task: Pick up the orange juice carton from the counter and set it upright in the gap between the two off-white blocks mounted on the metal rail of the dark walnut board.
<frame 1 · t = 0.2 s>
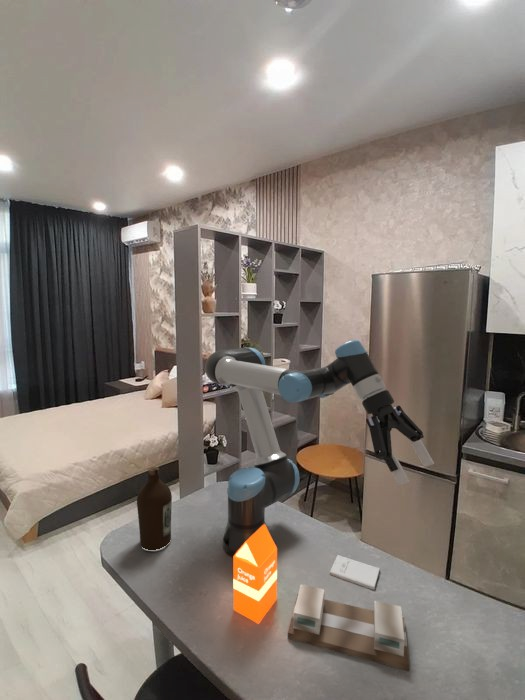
hand: (417, 474, 88), 36 cm above the table, tool tilted 35°, fingers open, 13 cm apart
olive oil: (156, 543, 117), on the table
rail board: (347, 630, 85), on the table
external hard drive: (354, 575, 104), on the table
orange juice: (255, 605, 93), on the table
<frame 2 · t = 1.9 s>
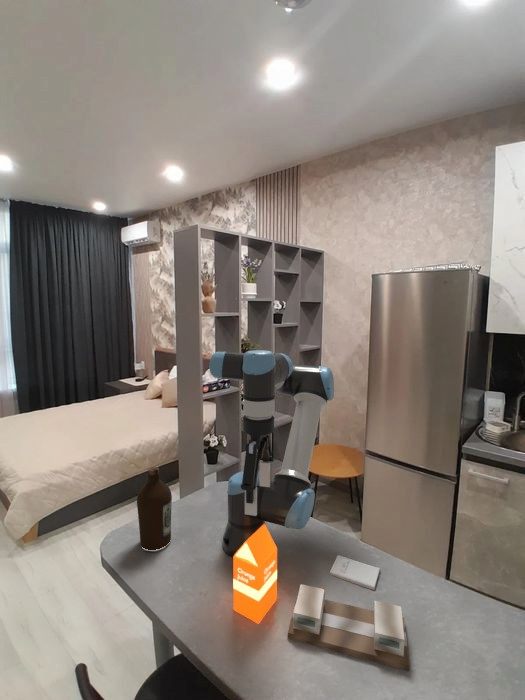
hand: (258, 499, 89), 29 cm above the table, tool pointing down, fingers open, 13 cm apart
nothing on the table moved.
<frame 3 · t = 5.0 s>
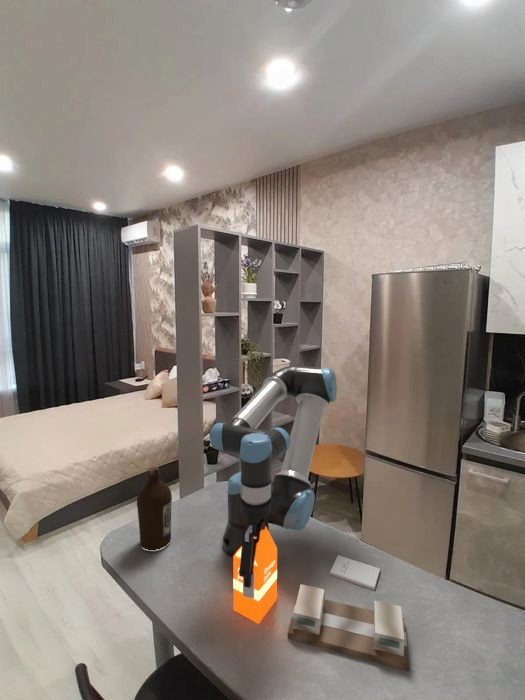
hand: (255, 580, 92), 7 cm above the table, tool pointing down, fingers closed on orange juice, 10 cm apart
orange juice: (255, 605, 93), on the table, touching gripper
everything else where it was.
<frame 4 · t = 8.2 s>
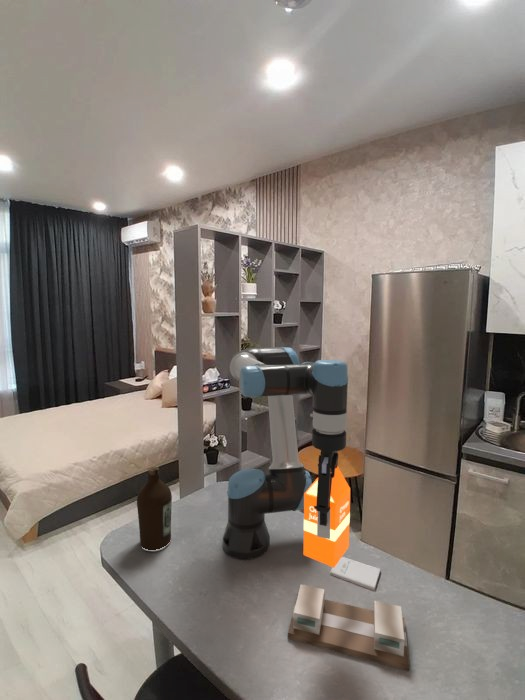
hand: (327, 523, 83), 26 cm above the table, tool pointing down, fingers closed on orange juice, 10 cm apart
orange juice: (326, 551, 84), point 19 cm above the table, touching gripper
everything else where it was.
when the fingers open (10 cm above the table, at t = 11.8 s): orange juice drops 1 cm, resting on rail board.
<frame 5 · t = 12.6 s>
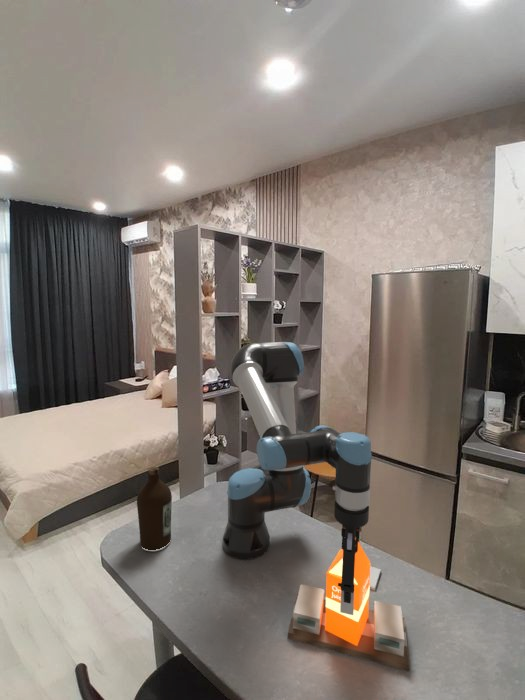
hand: (348, 589, 84), 11 cm above the table, tool pointing down, fingers open, 13 cm apart
orange juice: (346, 624, 85), point 1 cm above the table, touching rail board
everything else where it was.
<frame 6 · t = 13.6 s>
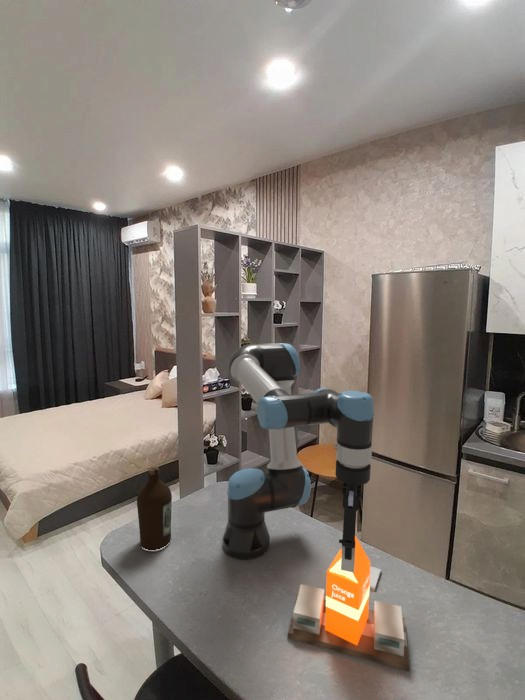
hand: (349, 549, 83), 20 cm above the table, tool pointing down, fingers open, 13 cm apart
nothing on the table moved.
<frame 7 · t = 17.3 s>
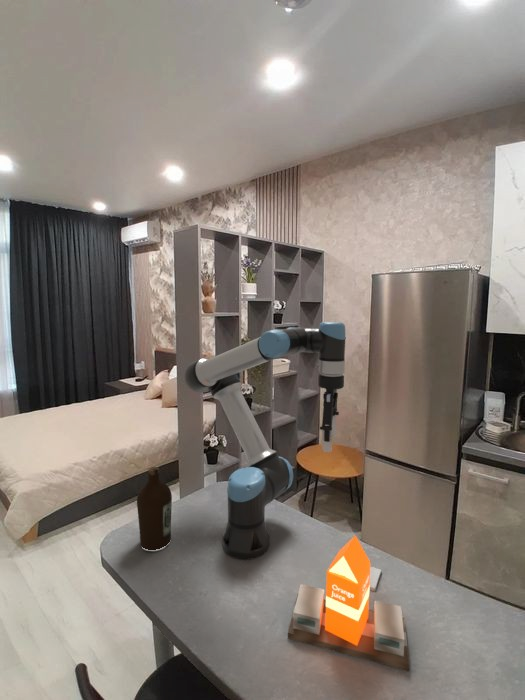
hand: (329, 443, 110), 35 cm above the table, tool pointing down, fingers open, 13 cm apart
nothing on the table moved.
at the end: orange juice 0.3 cm off-centre on the rail board, point 1.4 cm above the rail board's base; orange juice tilted 0°; the gripper is holding nothing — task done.
